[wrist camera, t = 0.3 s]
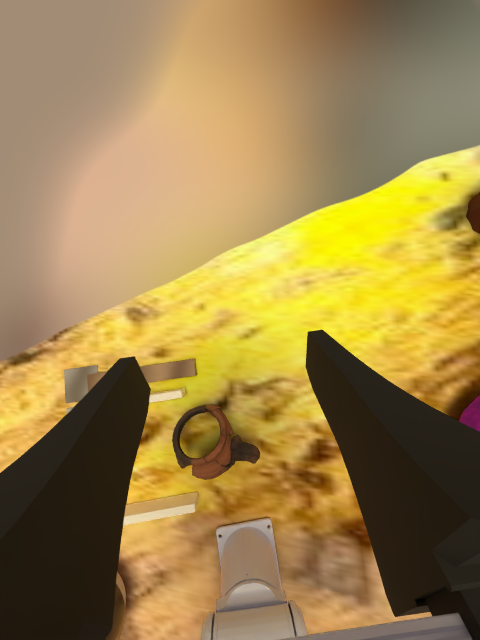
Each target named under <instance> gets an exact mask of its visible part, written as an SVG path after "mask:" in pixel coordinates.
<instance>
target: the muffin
mask: <svg viewBox="0 0 480 640" xmlns="http://www.w3.org/2000/svg"><path fill="white" fill-rule="evenodd" d="M466 217H467V218H468V220H469V222H470V224H471V226H472V229H473V230H474V231H476V232H478V233H479V234H480V193H479V194H478V195H477V196H476V197H475V198H473V199H472V200H471V201H470V202H469V205H468V212H467V215H466Z"/></svg>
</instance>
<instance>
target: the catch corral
mask: <svg viewBox="0 0 480 640" xmlns="http://www.w3.org/2000/svg"><path fill="white" fill-rule="evenodd" d="M184 395H186V390H185V388H180V389H174V390H168V391H161V392H155V393H150V399H149V403H151V402H158V401H164V400H170V399H176V398H182V397H183V396H184ZM74 407H75V406H74ZM74 407H71V408H68V409H67V414H68V413H69V412H70V411H71V410H72V409H73V408H74ZM197 503H198V492H193V493H188V494H182V495H177V496H171V497H166V498H160V499H155V500H149V501H144V502H138V503H133V504H127V505H126V508H125V515H124V522H123V525H128V524H133V523H139V522H144V521H149V520H155V519H160V518H165V517H171V516H176V515H182V514H187V513H192V512H196V508H197Z"/></svg>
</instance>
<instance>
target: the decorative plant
mask: <svg viewBox="0 0 480 640" xmlns="http://www.w3.org/2000/svg"><path fill="white" fill-rule="evenodd" d="M459 422H461V423H463V424H465V425H467V426H469V427H471V428H473V429H475V430H477V431H480V395H479V396H478V397H477V398H476V399H475V400H474V401H473V402H472V403H471V404H470V405H469V406H468V407H467V408H466V409H465V410H464V411H463V412H462V414H461V416H460V419H459Z"/></svg>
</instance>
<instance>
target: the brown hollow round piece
mask: <svg viewBox="0 0 480 640" xmlns="http://www.w3.org/2000/svg"><path fill="white" fill-rule="evenodd" d="M220 410H221V407H219V406H215V405H203V406H199V407H195V408H193V409H191V410H189V411H188V412H186V413H185V414H184V415H183V416H182V418H181V419H180V420H179V421H178V423H177V425H176V427H175V429H174V433H173V439H172V441H173V447H174V451H175V454H176V458H177V460H178V464H179V465H180V467H181V468H185V467H186V466H189V465H193V467H192V475H193V476H195V477H196V478H201V479H205V480H206V479H213V478H215V477H217V476H219V475H221V474H223V473H224V472H225V471H227V470H228V469H229V468H230V467H231V466H233V465H234V464H235V461H248V462H251V463H256V462H257V460H258V459H259V457H260V452H259V450H258V448H257V447H256V446H254V445H251V444H248V443H246V442H243V441H242V440H241V438H240V437H239V435H236V436H234V437H233V438H232V440H231V442H230V439H229V436H230V435H232V434H233V432H232V429H231V426H230V424H229V421H228V420H227V418H226V416H225V415H224V414H223V412H221V411H220ZM205 412H210V413H212V415H213V416H214V417H215V418H216V419H217V420H218V422H219V425H220V439H219V442H218V444H217V446H216V447H215V448H214V450H213V451H212V452H211V453H210V454H208V455H206V456H205V457H202V458H190V457H188V456H187V455H185V454H184V452H183V451H182V449H181V447H180V434H181V431H182V428H183V426H184V425H185V423H186V422H187V421H188V420H189V419H190V418H191V417H193V416H194V415H197V414H200V413H205Z"/></svg>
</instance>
